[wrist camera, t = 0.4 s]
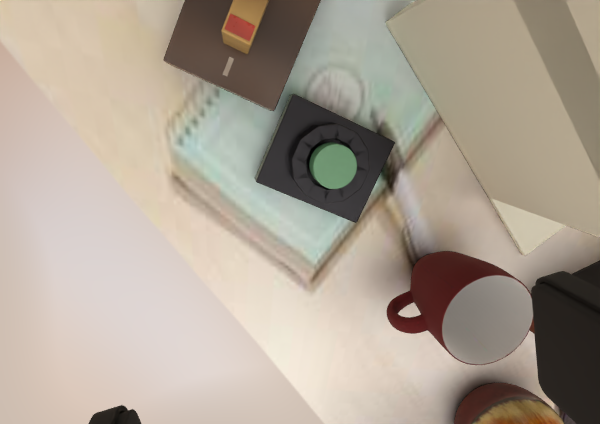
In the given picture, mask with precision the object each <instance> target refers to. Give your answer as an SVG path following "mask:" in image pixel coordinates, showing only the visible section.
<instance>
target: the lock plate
mask: <svg viewBox="0 0 600 424" xmlns="http://www.w3.org/2000/svg"><path fill="white" fill-rule="evenodd" d="M320 1H321V0H269V3H268V5H267V8H266V10H265V13H264V15H263V18H262V20H261V23H260V25H259V28H258V30H257V33H256V35H255V38H254V40H253V43H252V45H251V48H250V50H249V53H248V54H245V53H243V52H241V51H239V50H237V49H235V48H233V47H231V46H229V45H227V44H225V43H223V38H222V28H223V25H224V23H225V20H226V17H227V15H228V12H229V10H230V7H231V4H232V2H233V0H185V2H184V5H183V7H182V10H181V13H180V16H179V18H178V21H177V24H176V27H175V29H174V32H173V35H172V38H171V40H170V43H169V46H168V49H167V51H166V54H165V57H164V61H165V62H167V63H168V64H170V65H172V66H174V67H176V68H179V69H181V70H183V71H185V72H187V73H190V74H192V75H194V76H196V77H198V78H200V79H203V80H205V81H207V82H209V83H211V84H213V85H216V86H218V87H220V88H222V89H224V90H227V91H229V92H231V93H233V94H235V95H237V96H240V97H242V98H244V99H246V100H248V101H250V102H253V103H255V104H257V105H259V106H261V107H264V108H266V109H268V110H270V111H274V110H275V108H276V105H277V103H278V101H279V98H280V96H281V93H282V91H283V89H284V86H285V84H286V82H287V79H288V77H289V74H290V72H291V70H292V67H293V65H294V63H295V60H296V58H297V55H298V53H299V51H300V48H301V46H302V44H303V41H304V39H305V36H306V34H307V32H308V29H309V27H310V25H311V22H312V20H313V17H314V15H315V13H316V10H317V8H318V6H319V3H320Z"/></svg>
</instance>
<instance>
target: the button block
mask: <svg viewBox="0 0 600 424" xmlns="http://www.w3.org/2000/svg"><path fill="white" fill-rule="evenodd" d="M329 142H333V143H338V144H341V145H343V146H346V147H347V148H349V149H350V150H351V151H352V152H353V154H354V155H355V158H356V161H357V170H356V174H355V176H354V178H353V179H352V181H351V182H350V183H349V184H347V185H346V186H344V187H342V188H339V189H329V188H326V187H324V186H322V185H321V184H320V183H319V182H318V181H317V180H315V179H314V177H313V176H312V174H311V172H310V167H309V163H310V158H311V155H312V153H313V152H314V150H315V149H316V148H317V147H319V146H320V145H322V144H325V143H329ZM394 144H395V142H394V141H392V140H390V139H387V138H385V137H383V136H381V135H379V134H377V133H375V132H373V131H371V130H369V129H366V128H364V127H362V126H360V125H358V124H356V123H354V122H352V121H350V120H348V119H346V118H343V117H341V116H339V115H337V114H335V113H333V112H331V111H329V110H327V109H325V108H323V107H320V106H318V105H316V104H314V103H312V102H310V101H308V100H306V99H304V98H302V97H300V96H297V95H295V94H291V95H290V96H289V99H288V101H287V104H286V106H285V108H284V111H283V113H282V115H281V118H280V120H279V122H278V125H277V127H276V129H275V132H274V134H273V137H272V139H271V141H270V144H269V146H268V148H267V151H266V153H265V155H264V158H263V160H262V162H261V165H260V167H259V169H258V172H257V174H256V177H255V180H256V182H258V183H260V184H263V185H265V186H267V187H270V188H272V189H275V190H277V191H280V192H282V193H284V194H287V195H289V196H292V197H294V198H297V199H299V200H302V201H304V202H306V203H309V204H311V205H314V206H316V207H319V208H321V209H324V210H326V211H328V212H331V213H333V214H336V215H338V216H341V217H343V218H346V219H348V220H350V221H353V222H355V223H356V222H357V221H358V219H359V217H360V214H361V212H362V210H363V208H364V206H365V204H366V202H367V200H368V198H369V196H370V194H371V192H372V189H373V187H374V185H375V183H376V181H377V179H378V177H379V175H380V173H381V171H382V169H383V167H384V164H385V162H386V160H387V158H388V156H389V154H390V152H391V150H392V148H393V146H394Z"/></svg>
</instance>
